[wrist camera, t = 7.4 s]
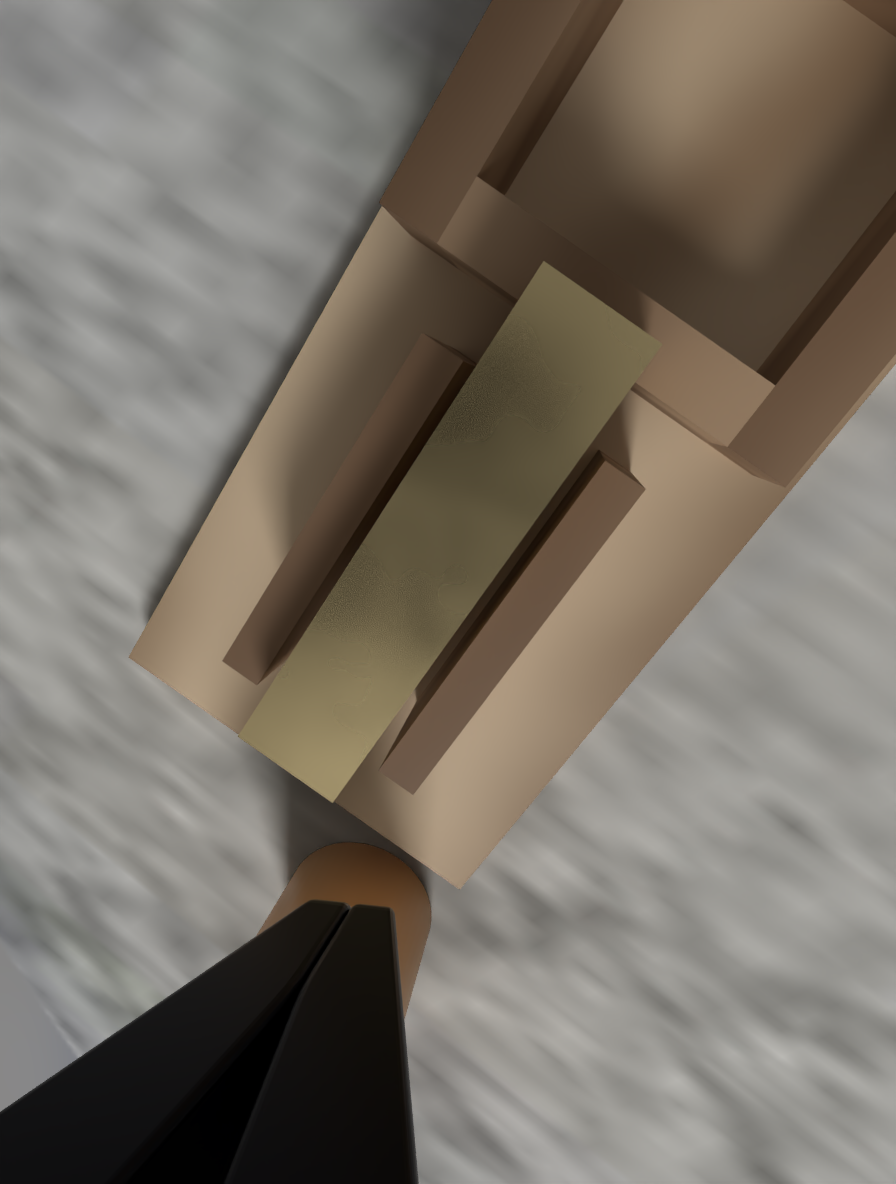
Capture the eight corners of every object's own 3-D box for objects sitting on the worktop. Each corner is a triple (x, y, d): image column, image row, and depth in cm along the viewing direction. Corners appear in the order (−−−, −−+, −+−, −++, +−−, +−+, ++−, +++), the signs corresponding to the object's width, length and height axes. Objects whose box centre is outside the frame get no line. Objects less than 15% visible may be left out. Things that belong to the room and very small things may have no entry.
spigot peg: (460, 901, 20) (399, 1157, 13) (380, 996, 21) (287, 1276, 14) (336, 814, 20) (211, 1024, 13) (264, 914, 21) (114, 1155, 14)
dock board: (1265, -109, 12) (1633, -385, 8) (465, 865, 19) (433, 996, 15) (774, -452, 12) (881, -913, 8) (150, 645, 19) (28, 713, 15)
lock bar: (649, 354, 12) (662, 343, 10) (364, 751, 15) (332, 802, 13) (548, 283, 12) (543, 260, 10) (281, 694, 15) (237, 736, 13)
